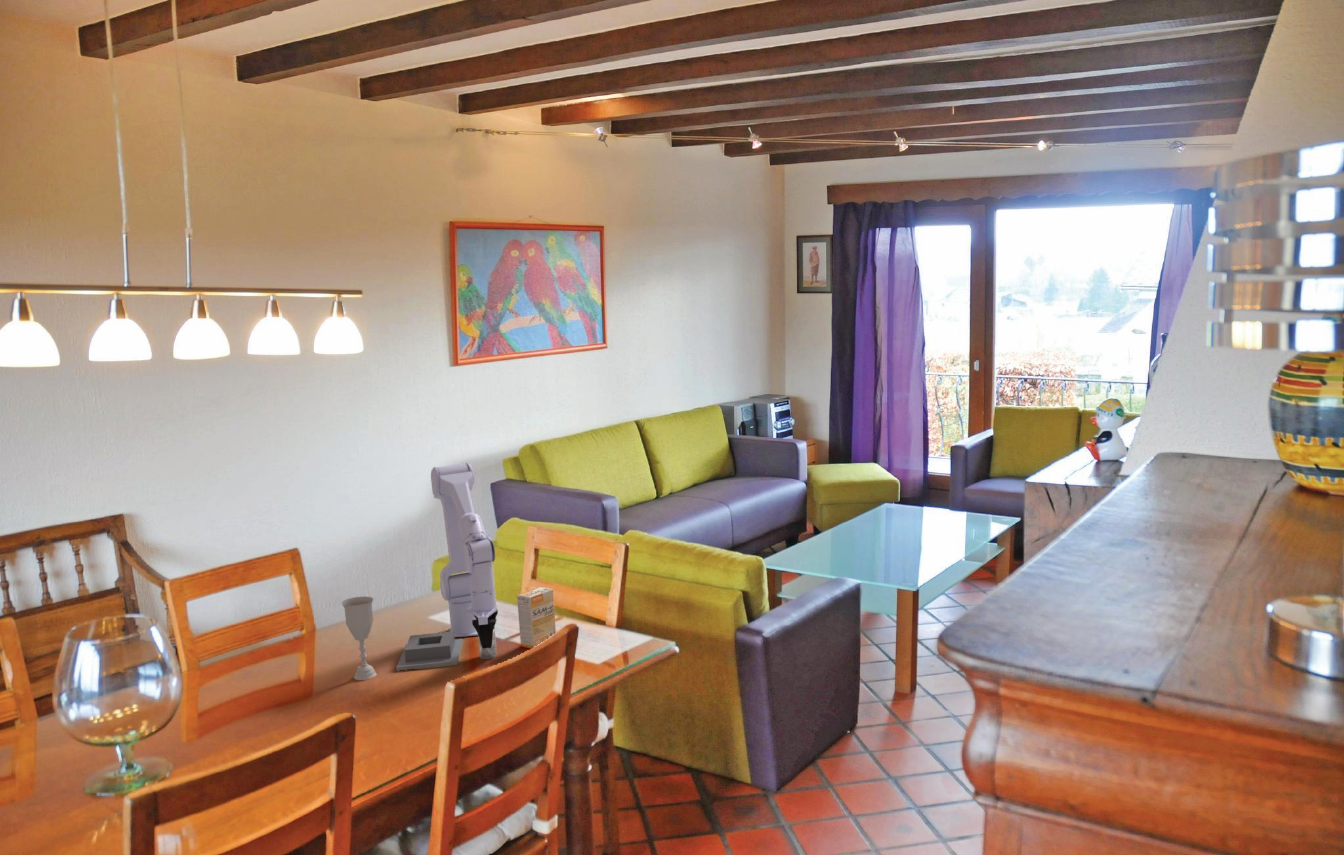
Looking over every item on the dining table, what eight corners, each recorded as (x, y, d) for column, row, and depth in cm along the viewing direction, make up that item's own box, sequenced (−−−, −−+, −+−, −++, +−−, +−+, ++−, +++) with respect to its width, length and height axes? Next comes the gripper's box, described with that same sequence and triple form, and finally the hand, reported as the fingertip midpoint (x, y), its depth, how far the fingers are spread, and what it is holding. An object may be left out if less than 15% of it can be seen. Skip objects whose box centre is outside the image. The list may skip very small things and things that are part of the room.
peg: (480, 654, 244) (477, 622, 243) (497, 652, 245) (494, 620, 244) (479, 659, 240) (476, 627, 239) (496, 658, 241) (493, 625, 240)
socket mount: (406, 648, 252) (404, 632, 251) (463, 642, 253) (461, 627, 253) (396, 671, 236) (395, 654, 236) (457, 665, 238) (456, 648, 237)
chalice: (342, 679, 233) (334, 603, 231) (364, 668, 239) (356, 595, 237) (366, 683, 230) (358, 606, 227) (387, 672, 236) (380, 598, 233)
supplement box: (534, 649, 245) (529, 597, 243) (520, 646, 248) (515, 594, 246) (557, 639, 251) (553, 588, 250) (543, 636, 254) (539, 585, 253)
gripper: (468, 582, 247) (472, 636, 249) (463, 600, 233) (468, 656, 234) (497, 580, 248) (501, 633, 249) (494, 597, 233) (499, 653, 235)
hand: (487, 644), depth 242 cm, fingers closed on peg, 4 cm apart
